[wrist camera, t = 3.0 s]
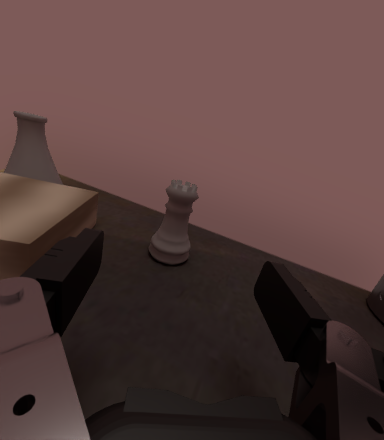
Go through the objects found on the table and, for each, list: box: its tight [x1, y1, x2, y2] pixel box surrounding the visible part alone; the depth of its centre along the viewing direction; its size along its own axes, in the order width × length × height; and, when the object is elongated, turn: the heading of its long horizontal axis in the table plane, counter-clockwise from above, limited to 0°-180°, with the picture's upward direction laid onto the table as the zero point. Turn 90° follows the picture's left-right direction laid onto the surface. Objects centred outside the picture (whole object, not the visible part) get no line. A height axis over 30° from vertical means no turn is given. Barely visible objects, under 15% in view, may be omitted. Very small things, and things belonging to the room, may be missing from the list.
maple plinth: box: [0, 172, 98, 280], centre depth 18 cm, size 12×12×4 cm
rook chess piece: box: [149, 180, 198, 265], centre depth 21 cm, size 4×4×8 cm
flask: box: [4, 111, 63, 185], centre depth 28 cm, size 7×7×10 cm
